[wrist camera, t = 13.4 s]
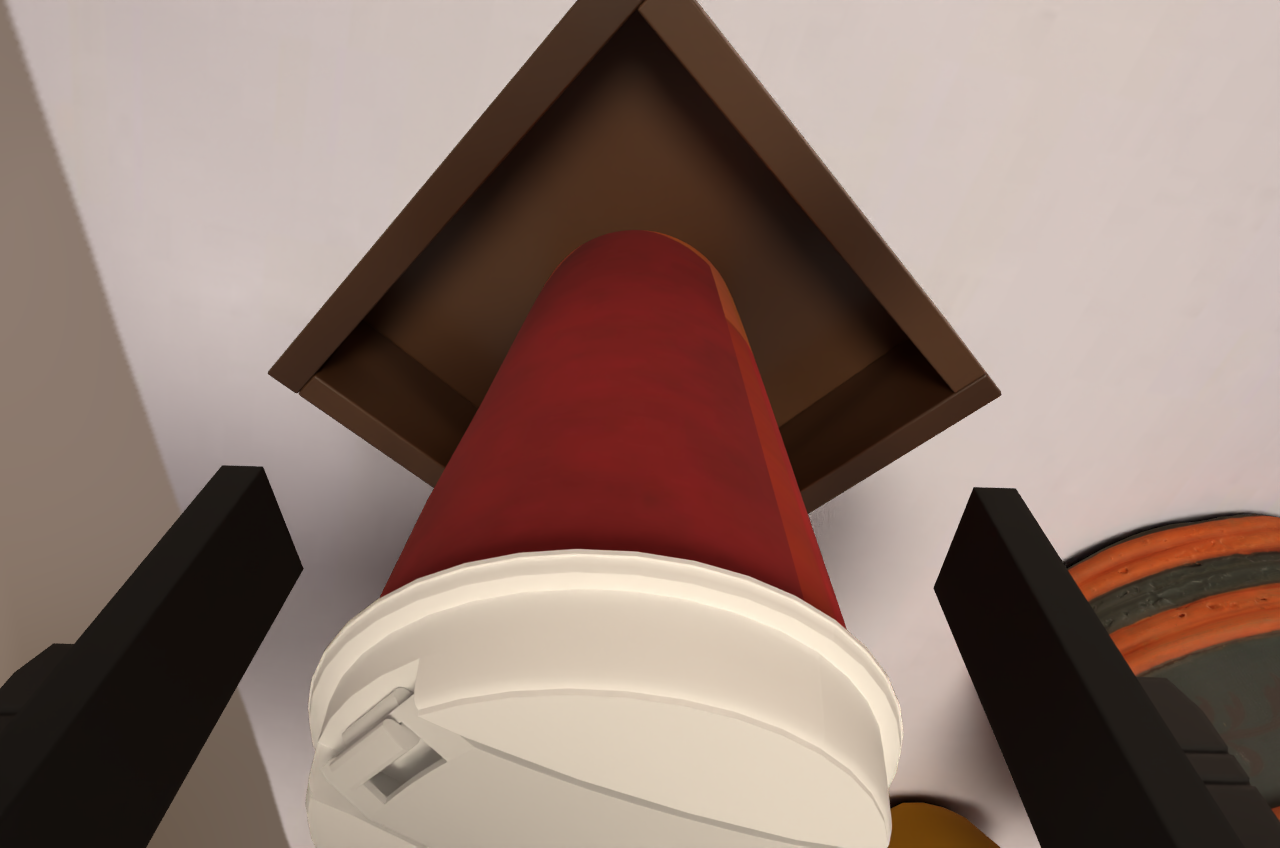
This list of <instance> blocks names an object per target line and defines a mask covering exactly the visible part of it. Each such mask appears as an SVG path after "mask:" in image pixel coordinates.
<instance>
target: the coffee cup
mask: <svg viewBox="0 0 1280 848" xmlns="http://www.w3.org/2000/svg"><path fill="white" fill-rule="evenodd" d="M308 711H309V724H310V730H311V737H312V743H313V747H314V749H315V756H314V759H313V763H312V767H311V771H310V775H309V782H308V788H307V795H306V810H307V818H308V824H309V829H310V835H311V839H312V841H313V843H314V845H315V846H316V848H887V847H888V846H889V842H890V837H891V831H892V819H891V810H890V801H889V792H888V789H889V787H890V785H891V783H892V780H893V778H894V776H895V774H896V770H897V764H898V761H899V757H900V752H901V746H902V740H903V735H904V734H903V726H902V717H901V709H900V705H899V702H898V699H897V697H896V695H895V692H894V690H893V688H892V685H891V683H890V680H889V678H888V676H887V674H886V672H885V671H884V670H883V669H882V667H881V666H880V665H879V663H878V662H877V661H876V659H875V658H874V657H873V655H872V654H871V653H870V651H869V650H868V649H867V647H866V646H865V645H863V644H862V643H861V642H860V641H859V640H858V639H857V638H855V637H854V636H853V635H852V634H851V633H850V632H849V631H847V629H846V626H845V623H844V620H843V617H842V614H841V611H840V608H839V605H838V602H837V599H836V596H835V593H834V590H833V587H832V584H831V581H830V578H829V576H828V573H827V570H826V567H825V564H824V561H823V558H822V555H821V552H820V549H819V546H818V543H817V540H816V537H815V534H814V531H813V528H812V525H811V522H810V519H809V517H808V514H807V511H806V508H805V505H804V502H803V499H802V496H801V493H800V490H799V487H798V484H797V481H796V478H795V475H794V472H793V469H792V466H791V463H790V460H789V457H788V454H787V451H786V448H785V446H784V443H783V440H782V437H781V434H780V431H779V428H778V425H777V422H776V419H775V416H774V413H773V410H772V407H771V404H770V402H769V399H768V396H767V393H766V390H765V387H764V384H763V381H762V378H761V375H760V372H759V370H758V367H757V364H756V361H755V358H754V355H753V352H752V350H751V347H750V344H749V341H748V338H747V335H746V333H745V330H744V327H743V324H742V322H741V319H740V316H739V314H738V311H737V308H736V306H735V303H734V301H733V298H732V296H731V294H730V292H729V290H728V288H727V286H726V283H725V282H724V280H723V278H722V277H721V275H720V274H719V272H718V271H717V270H716V268H715V267H714V266H713V265H712V263H711V262H710V261H709V260H708V259H707V258H706V257H705V256H704V255H702V254H701V253H700V252H699V251H697V250H696V249H695V248H693V247H692V246H690V245H689V244H687V243H685V242H683V241H681V240H679V239H677V238H674V237H672V236H669V235H666V234H662V233H658V232H653V231H645V230H625V231H618V232H613V233H608V234H605V235H602V236H599V237H597V238H594V239H592V240H590V241H588V242H586V243H584V244H583V245H581V246H579V247H578V248H577V249H575V250H574V251H573V252H571V253H570V254H569V255H568V256H567V257H566V258H565V259H564V260H563V261H562V262H561V263H560V264H559V265H558V266H557V268H556V269H555V270H554V272H553V273H552V275H551V276H550V277H549V279H548V280H547V282H546V283H545V285H544V287H543V289H542V290H541V292H540V294H539V296H538V297H537V299H536V301H535V303H534V304H533V306H532V308H531V310H530V312H529V314H528V315H527V317H526V319H525V321H524V323H523V325H522V327H521V329H520V330H519V332H518V334H517V336H516V338H515V340H514V342H513V344H512V346H511V347H510V349H509V351H508V353H507V355H506V357H505V359H504V361H503V363H502V365H501V367H500V369H499V370H498V372H497V374H496V376H495V378H494V380H493V382H492V384H491V386H490V388H489V390H488V392H487V394H486V395H485V397H484V399H483V401H482V403H481V405H480V407H479V409H478V410H477V412H476V414H475V416H474V417H473V419H472V421H471V423H470V425H469V426H468V428H467V430H466V432H465V434H464V435H463V437H462V439H461V441H460V443H459V444H458V446H457V448H456V450H455V452H454V453H453V455H452V457H451V459H450V461H449V462H448V464H447V466H446V468H445V469H444V471H443V473H442V475H441V477H440V478H439V480H438V482H437V484H436V486H435V487H434V489H433V491H432V493H431V495H430V496H429V498H428V500H427V502H426V504H425V506H424V508H423V510H422V512H421V514H420V516H419V518H418V520H417V522H416V524H415V526H414V528H413V530H412V532H411V534H410V536H409V538H408V540H407V542H406V544H405V547H404V549H403V551H402V553H401V555H400V557H399V559H398V561H397V563H396V565H395V567H394V569H393V571H392V573H391V575H390V577H389V579H388V581H387V583H386V585H385V587H384V589H383V591H382V593H381V595H380V598H379V599H377V600H376V601H375V602H373V603H372V604H371V605H370V606H368V607H367V608H366V609H364V610H363V611H362V612H360V613H359V614H358V615H357V616H355V617H354V618H353V619H351V620H350V621H349V622H347V624H346V625H345V626H344V627H343V628H342V630H341V631H340V632H339V633H338V634H337V636H336V637H335V638H334V639H333V640H332V642H331V643H330V644H329V645H328V646H327V648H326V649H325V651H324V653H323V656H322V658H321V660H320V662H319V664H318V667H317V669H316V671H315V673H314V675H313V677H312V680H311V687H310V694H309V701H308Z"/></svg>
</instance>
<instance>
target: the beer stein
mask: <svg viewBox="0 0 1280 848" xmlns="http://www.w3.org/2000/svg"><path fill="white" fill-rule="evenodd" d="M1067 570H1068V571H1069V573H1070V574H1071V576H1072V577H1073V579H1074V581H1075V582H1076V584H1077V585H1078V587H1079V588H1080V590H1081V592H1082V593H1083V595H1084V596H1085V598H1086V599H1087V601H1088V602H1089V604H1090V606H1091V607H1092V609H1093V610H1094V612H1095V613H1096V615H1097V617H1098V618H1099V620H1100V621H1101V623H1102V624H1103V626H1104V628H1105V629H1106V631H1107V632H1108V634H1109V635H1110V637H1111V639H1112V640H1113V642H1114V643H1115V645H1116V646H1117V648H1118V649H1119V651H1120V653H1121V654H1122V656H1123V657H1124V659H1125V660H1126V662H1127V664H1128V665H1129V667H1130V668H1131V670H1132V671H1133V673H1134V675H1135V676H1136V677H1159V678H1167V679H1168V680H1169V681H1170V682H1171V683H1173V684H1174V685H1175V686H1176V687H1177V688H1178V689H1179V690H1180V691H1182V692H1183V693H1184V694H1185V695H1186V696H1187V697H1188V698H1189V699H1190V700H1192V701H1193V702H1194V703H1195V704H1196V705H1197V706H1198V707H1199V708H1201V709H1202V710H1203V712H1204V713H1205V715H1206V716H1207V717H1208V719H1209V720H1210V722H1211V723H1212V725H1213V726H1214V728H1215V729H1216V730H1217V732H1218V733H1219V735H1220V736H1221V738H1222V739H1223V740H1224V742H1225V743H1226V745H1227V746H1228V752H1229V754H1230V755H1234V756H1235V758H1236V759H1237V761H1238V762H1239V763H1240V765H1241V766H1242V768H1243V769H1244V771H1245V772H1246V773H1247V775H1248V776H1249V778H1250V779H1249V782H1250V784H1251V785H1252V786H1256V788H1257V789H1258V791H1259V792H1260V794H1261V795H1262V796H1263V798H1264V799H1265V801H1266V802H1267V804H1268V805H1269V806H1270V808H1271V809H1272V811H1273V812H1274V814H1275V815H1276V817H1277V818H1278V819H1279V821H1280V518H1279V517H1272V516H1264V515H1257V514H1251V515H1243V514H1238V515H1235V516H1228V517H1218V518H1215V519H1211V520H1204V521H1199V522H1191V523H1178V524H1170V525H1167V526H1163V527H1159V528H1154V529H1151V530H1148V531H1144V532H1141V533H1139V534H1136V535H1132V536H1130V537H1128V538H1126V539H1123V540H1121V541H1119V542H1116V543H1114V544H1112V545H1110V546H1107V547H1105V548H1104V549H1102V550H1100V551H1098V552H1096V553H1094V554H1092V555H1090V556H1089V557H1087V558H1086V559H1084V560H1082V561H1080V562H1078V563H1076V564H1074V565H1073V566H1071V567H1069V568H1067Z"/></svg>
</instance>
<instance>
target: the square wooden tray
mask: <svg viewBox="0 0 1280 848" xmlns="http://www.w3.org/2000/svg"><path fill="white" fill-rule="evenodd" d="M625 230H645V231H653V232H658V233H662V234H666V235H669V236H672V237H674V238H677V239H679V240H681V241H683V242H685V243H687V244H689V245H690V246H692V247H693V248H695V249H696V250H697V251H699V252H700V253H701V254H702V255H704V256H705V257H706V258H707V259H708V260H709V261H710V262H711V263H712V265H713V266H714V267H715V268H716V270H717V271H718V272H719V274H720V275H721V277H722V278H723V280H724V282H725V283H726V286H727V288H728V290H729V292H730V294H731V296H732V298H733V301H734V303H735V306H736V308H737V311H738V314H739V316H740V319H741V322H742V324H743V327H744V330H745V333H746V335H747V338H748V341H749V344H750V347H751V350H752V352H753V355H754V358H755V361H756V364H757V367H758V370H759V372H760V375H761V378H762V381H763V384H764V387H765V390H766V393H767V396H768V399H769V402H770V404H771V407H772V410H773V413H774V416H775V419H776V422H777V425H778V428H779V431H780V434H781V437H782V440H783V443H784V446H785V448H786V451H787V454H788V457H789V460H790V463H791V466H792V469H793V472H794V475H795V478H796V481H797V484H798V487H799V490H800V493H801V496H802V499H803V502H804V505H805V508H806V511H807V514H808V513H810V512H812V511H813V510H815V509H817V508H818V507H820V506H822V505H823V504H825V503H826V502H828V501H830V500H831V499H833V498H835V497H836V496H838V495H839V494H841V493H843V492H844V491H846V490H848V489H849V488H851V487H853V486H854V485H856V484H857V483H859V482H861V481H862V480H864V479H866V478H867V477H869V476H871V475H872V474H874V473H875V472H877V471H879V470H880V469H882V468H884V467H885V466H887V465H888V464H890V463H892V462H893V461H895V460H897V459H898V458H900V457H902V456H903V455H905V454H906V453H908V452H910V451H911V450H913V449H915V448H916V447H918V446H919V445H921V444H923V443H924V442H926V441H928V440H929V439H931V438H933V437H934V436H936V435H937V434H939V433H941V432H942V431H944V430H946V429H947V428H949V427H950V426H952V425H954V424H955V423H957V422H959V421H960V420H962V419H964V418H965V417H967V416H968V415H970V414H972V413H973V412H975V411H977V410H978V409H980V408H981V407H983V406H985V405H986V404H988V403H990V402H991V401H993V400H995V399H996V398H998V397H999V396H1000V395H1001V391H1000V390H999V388H998V387H997V386H996V384H995V383H994V382H993V381H992V379H991V378H990V377H989V375H988V374H987V373H986V371H985V370H984V369H983V367H982V366H981V365H980V363H979V362H978V361H977V359H976V358H975V357H974V355H973V354H972V353H971V351H970V350H969V349H968V348H967V346H966V345H965V344H964V342H963V341H962V340H961V338H960V337H959V336H958V334H957V333H956V332H955V330H954V329H953V328H952V326H951V325H950V324H949V322H948V321H947V320H946V319H945V317H944V316H943V315H942V314H941V312H940V311H939V310H938V308H937V307H936V306H935V305H934V303H933V302H932V301H931V299H930V298H929V297H928V296H927V294H926V293H925V292H924V291H923V289H922V288H921V287H920V285H919V284H918V283H917V282H916V280H915V279H914V278H913V277H912V275H911V274H910V273H909V271H908V270H907V269H906V268H905V266H904V265H903V264H902V262H901V261H900V260H899V259H898V257H897V256H896V255H895V254H894V252H893V251H892V250H891V248H890V247H889V246H888V245H887V243H886V242H885V241H884V239H883V238H882V237H881V236H880V234H879V233H878V232H877V231H876V229H875V228H874V227H873V225H872V224H871V223H870V222H869V220H868V219H867V218H866V216H865V215H864V214H863V213H862V211H861V210H860V209H859V208H858V206H857V205H856V204H855V202H854V201H853V200H852V199H851V197H850V196H849V195H848V193H847V192H846V191H845V190H844V188H843V187H842V186H841V185H840V183H839V182H838V181H837V179H836V178H835V177H834V176H833V174H832V173H831V172H830V170H829V169H828V168H827V167H826V165H825V164H824V163H823V162H822V160H821V159H820V158H819V156H818V155H817V154H816V153H815V151H814V150H813V149H812V148H811V146H810V145H809V144H808V142H807V141H806V140H805V139H804V137H803V136H802V135H801V133H800V132H799V131H798V130H797V128H796V127H795V126H794V125H793V123H792V122H791V121H790V119H789V118H788V117H787V116H786V114H785V113H784V112H783V110H782V109H781V108H780V107H779V105H778V104H777V103H776V102H775V100H774V99H773V98H772V96H771V95H770V94H769V93H768V91H767V90H766V89H765V87H764V86H763V85H762V84H761V82H760V81H759V80H758V79H757V77H756V76H755V75H754V73H753V72H752V71H751V70H750V68H749V67H748V66H747V64H746V63H745V62H744V61H743V59H742V58H741V57H740V56H739V54H738V53H737V52H736V50H735V49H734V48H733V47H732V45H731V44H730V43H729V41H728V40H727V39H726V38H725V36H724V35H723V34H722V33H721V31H720V30H719V29H718V27H717V26H716V25H715V24H714V22H713V21H712V20H711V19H710V17H709V16H708V15H707V13H706V12H705V11H704V10H703V8H702V7H701V6H700V4H699V3H698V2H697V1H696V0H577V1H576V2H575V4H574V5H573V6H572V7H571V8H570V10H569V11H568V12H567V13H566V14H565V16H564V17H563V18H562V19H561V20H560V22H559V23H558V24H557V25H556V26H555V28H554V29H553V30H552V31H551V32H550V34H549V35H548V36H547V37H546V38H545V40H544V41H543V42H542V43H541V44H540V46H539V47H538V48H537V49H536V51H535V52H534V53H533V54H532V55H531V57H530V58H529V59H528V60H527V61H526V63H525V64H524V65H523V66H522V67H521V69H520V70H519V71H518V72H517V73H516V75H515V76H514V77H513V78H512V79H511V81H510V82H509V83H508V84H507V85H506V87H505V88H504V89H503V90H502V91H501V93H500V94H499V95H498V96H497V97H496V99H495V100H494V101H493V102H492V103H491V105H490V106H489V107H488V108H487V109H486V111H485V112H484V113H483V114H482V115H481V117H480V118H479V119H478V120H477V121H476V123H475V124H474V125H473V126H472V127H471V129H470V130H469V131H468V132H467V133H466V135H465V136H464V137H463V138H462V139H461V141H460V142H459V143H458V144H457V145H456V147H455V148H454V149H453V150H452V151H451V153H450V154H449V155H448V156H447V157H446V159H445V160H444V161H443V162H442V163H441V165H440V166H439V167H438V168H437V169H436V171H435V172H434V173H433V174H432V175H431V177H430V178H429V179H428V180H427V181H426V183H425V184H424V185H423V186H422V187H421V189H420V190H419V191H418V192H417V193H416V195H415V196H414V197H413V198H412V199H411V201H410V202H409V203H408V204H407V205H406V207H405V208H404V209H403V210H402V211H401V213H400V214H399V215H398V216H397V217H396V219H395V220H394V221H393V222H392V223H391V225H390V226H389V227H388V228H387V229H386V231H385V232H384V233H383V234H382V235H381V237H380V238H379V239H378V240H377V241H376V243H375V244H374V245H373V246H372V248H371V249H370V250H369V251H368V252H367V254H366V255H365V256H364V257H363V258H362V260H361V261H360V262H359V263H358V264H357V266H356V267H355V268H354V269H353V270H352V272H351V273H350V274H349V275H348V276H347V278H346V279H345V280H344V281H343V282H342V284H341V285H340V286H339V287H338V288H337V290H336V291H335V292H334V293H333V294H332V296H331V297H330V298H329V299H328V300H327V302H326V303H325V304H324V305H323V306H322V308H321V309H320V310H319V311H318V312H317V314H316V315H315V316H314V317H313V318H312V320H311V321H310V322H309V323H308V324H307V326H306V327H305V328H304V329H303V330H302V332H301V333H300V334H299V335H298V336H297V338H296V339H295V340H294V341H293V342H292V344H291V345H290V346H289V347H288V348H287V350H286V351H285V352H284V353H283V354H282V356H281V357H280V358H279V359H278V360H277V362H276V363H275V364H274V365H273V366H272V368H271V369H270V370H269V371H268V374H269V375H270V376H272V377H273V378H274V379H276V380H277V381H279V382H280V383H282V384H283V385H285V386H286V387H287V388H289V389H290V390H292V391H293V392H295V393H298V392H299V395H300V396H301V397H303V398H304V399H306V400H307V401H309V402H310V403H312V404H313V405H314V406H316V407H317V408H319V409H320V410H322V411H323V412H325V413H326V414H327V415H329V416H330V417H332V418H333V419H335V420H336V421H338V422H339V423H340V424H342V425H343V426H345V427H346V428H348V429H349V430H351V431H352V432H353V433H355V434H356V435H358V436H359V437H361V438H362V439H364V440H365V441H367V442H368V443H369V444H371V445H372V446H374V447H375V448H377V449H378V450H380V451H381V452H382V453H384V454H385V455H387V456H388V457H390V458H391V459H393V460H394V461H395V462H397V463H398V464H400V465H401V466H403V467H404V468H406V469H407V470H408V471H410V472H411V473H413V474H414V475H416V476H417V477H419V478H420V479H421V480H423V481H424V482H426V483H427V484H429V485H430V486H432V487H433V488H434V487H435V486H436V484H437V482H438V480H439V478H440V477H441V475H442V473H443V471H444V469H445V468H446V466H447V464H448V462H449V461H450V459H451V457H452V455H453V453H454V452H455V450H456V448H457V446H458V444H459V443H460V441H461V439H462V437H463V435H464V434H465V432H466V430H467V428H468V426H469V425H470V423H471V421H472V419H473V417H474V416H475V414H476V412H477V410H478V409H479V407H480V405H481V403H482V401H483V399H484V397H485V395H486V394H487V392H488V390H489V388H490V386H491V384H492V382H493V380H494V378H495V376H496V374H497V372H498V370H499V369H500V367H501V365H502V363H503V361H504V359H505V357H506V355H507V353H508V351H509V349H510V347H511V346H512V344H513V342H514V340H515V338H516V336H517V334H518V332H519V330H520V329H521V327H522V325H523V323H524V321H525V319H526V317H527V315H528V314H529V312H530V310H531V308H532V306H533V304H534V303H535V301H536V299H537V297H538V296H539V294H540V292H541V290H542V289H543V287H544V285H545V283H546V282H547V280H548V279H549V277H550V276H551V275H552V273H553V272H554V270H555V269H556V268H557V266H558V265H559V264H560V263H561V262H562V261H563V260H564V259H565V258H566V257H567V256H568V255H569V254H570V253H571V252H573V251H574V250H575V249H577V248H578V247H579V246H581V245H583V244H584V243H586V242H588V241H590V240H592V239H594V238H597V237H599V236H602V235H605V234H608V233H613V232H618V231H625Z"/></svg>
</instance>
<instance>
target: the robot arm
mask: <svg viewBox="0 0 1280 848" xmlns="http://www.w3.org/2000/svg"><path fill="white" fill-rule="evenodd" d="M302 571H303V566H302V564H301V561H300V559H299V556H298V554H297V551H296V548H295V546H294V543H293V541H292V538H291V536H290V533H289V531H288V528H287V526H286V523H285V521H284V518H283V516H282V513H281V511H280V508H279V506H278V503H277V501H276V498H275V496H274V493H273V491H272V488H271V485H270V483H269V480H268V478H267V475H266V473H265V470H264V468H263V467H257V466H223V465H222V466H221V467H220V469H219V470H218V471H217V472H216V473H215V475H214V476H213V477H212V478H211V480H210V481H209V482H208V483H207V484H206V486H205V487H204V488H203V489H202V490H201V492H200V493H199V494H198V495H197V496H196V498H195V499H194V500H193V501H192V502H191V504H190V505H189V506H188V507H187V508H186V510H185V511H184V512H183V513H182V515H181V516H180V517H179V518H178V520H177V521H176V522H175V523H174V524H173V525H172V527H171V528H170V529H169V530H168V532H167V533H166V534H165V535H164V536H163V537H162V539H161V540H160V541H159V542H158V544H157V545H156V546H155V547H154V548H153V550H152V551H151V552H150V553H149V554H148V556H147V557H146V558H145V559H144V560H143V562H142V563H141V564H140V565H139V566H138V568H137V569H136V570H135V571H134V573H133V574H132V575H131V576H130V577H129V579H128V580H127V581H126V582H125V583H124V585H123V586H122V587H121V588H120V589H119V591H118V592H117V593H116V594H115V596H114V597H113V598H112V599H111V600H110V601H109V603H108V604H107V605H106V606H105V608H104V609H103V610H102V611H101V612H100V614H99V615H98V616H97V617H96V618H95V620H94V621H93V622H92V623H91V624H90V626H89V627H88V628H87V629H86V630H85V632H84V633H83V634H82V635H81V637H80V638H79V639H78V640H77V641H76V643H75V644H52V645H51V646H50V647H48V648H47V649H45V650H44V651H43V652H42V653H40V654H39V655H37V656H36V657H35V658H33V659H32V660H31V661H29V662H28V663H27V664H25V665H24V666H23V667H21V668H20V669H19V670H17V671H16V672H15V673H14V674H13V675H12V676H11V677H10V678H9V679H8V680H7V681H6V683H5V684H4V685H3V686H2V687H1V688H0V848H146V847H147V845H148V843H149V841H150V840H151V838H152V836H153V834H154V833H155V831H156V829H157V827H158V825H159V824H160V822H161V820H162V818H163V817H164V815H165V813H166V811H167V810H168V808H169V806H170V804H171V803H172V801H173V799H174V797H175V795H176V794H177V792H178V790H179V788H180V787H181V785H182V783H183V781H184V779H185V778H186V776H187V774H188V772H189V770H190V769H191V767H192V765H193V764H194V762H195V760H196V758H197V756H198V755H199V753H200V751H201V749H202V747H203V746H204V744H205V742H206V741H207V739H208V737H209V735H210V733H211V732H212V730H213V728H214V726H215V725H216V723H217V721H218V719H219V718H220V716H221V714H222V712H223V710H224V709H225V707H226V705H227V703H228V702H229V700H230V698H231V696H232V694H233V693H234V691H235V689H236V687H237V686H238V684H239V682H240V680H241V679H242V677H243V675H244V673H245V671H246V670H247V668H248V666H249V664H250V663H251V661H252V659H253V657H254V656H255V654H256V652H257V650H258V648H259V647H260V645H261V643H262V641H263V640H264V638H265V636H266V634H267V633H268V631H269V629H270V627H271V625H272V624H273V622H274V620H275V618H276V617H277V615H278V613H279V611H280V610H281V608H282V606H283V604H284V602H285V601H286V599H287V597H288V595H289V594H290V592H291V590H292V588H293V587H294V585H295V583H296V581H297V579H298V578H299V576H300V574H301V572H302ZM934 591H935V593H936V595H937V598H938V600H939V603H940V605H941V607H942V610H943V612H944V615H945V617H946V619H947V622H948V624H949V627H950V629H951V632H952V634H953V636H954V639H955V641H956V644H957V646H958V648H959V651H960V653H961V656H962V658H963V660H964V663H965V665H966V668H967V670H968V672H969V675H970V677H971V680H972V682H973V684H974V687H975V689H976V692H977V694H978V697H979V699H980V701H981V704H982V706H983V709H984V711H985V713H986V716H987V718H988V721H989V723H990V725H991V728H992V730H993V733H994V735H995V737H996V740H997V742H998V745H999V747H1000V749H1001V752H1002V754H1003V757H1004V759H1005V762H1006V764H1007V766H1008V769H1009V771H1010V774H1011V776H1012V778H1013V781H1014V783H1015V786H1016V788H1017V790H1018V793H1019V795H1020V798H1021V800H1022V802H1023V805H1024V807H1025V810H1026V812H1027V814H1028V817H1029V819H1030V822H1031V824H1032V827H1033V829H1034V831H1035V834H1036V836H1037V839H1038V841H1039V843H1040V846H1041V848H1280V821H1279V819H1278V818H1277V817H1276V815H1275V814H1274V812H1273V811H1272V809H1271V808H1270V806H1269V805H1268V804H1267V802H1266V801H1265V799H1264V798H1263V796H1262V795H1261V794H1260V792H1259V791H1258V789H1257V788H1256V786H1252V785H1251V784H1250V782H1249V779H1250V778H1249V776H1248V775H1247V773H1246V772H1245V771H1244V769H1243V768H1242V766H1241V765H1240V763H1239V762H1238V761H1237V759H1236V758H1235V756H1234V755H1230V754H1229V752H1228V746H1227V745H1226V743H1225V742H1224V740H1223V739H1222V738H1221V736H1220V735H1219V733H1218V732H1217V730H1216V729H1215V728H1214V726H1213V725H1212V723H1211V722H1210V720H1209V719H1208V717H1207V716H1206V715H1205V713H1204V712H1203V710H1202V709H1201V708H1199V707H1198V706H1197V705H1196V704H1195V703H1194V702H1193V701H1192V700H1190V699H1189V698H1188V697H1187V696H1186V695H1185V694H1184V693H1183V692H1182V691H1180V690H1179V689H1178V688H1177V687H1176V686H1175V685H1174V684H1173V683H1171V682H1170V681H1169V680H1168V679H1167V678H1159V677H1136V676H1135V675H1134V673H1133V671H1132V670H1131V668H1130V667H1129V665H1128V664H1127V662H1126V660H1125V659H1124V657H1123V656H1122V654H1121V653H1120V651H1119V649H1118V648H1117V646H1116V645H1115V643H1114V642H1113V640H1112V639H1111V637H1110V635H1109V634H1108V632H1107V631H1106V629H1105V628H1104V626H1103V624H1102V623H1101V621H1100V620H1099V618H1098V617H1097V615H1096V613H1095V612H1094V610H1093V609H1092V607H1091V606H1090V604H1089V602H1088V601H1087V599H1086V598H1085V596H1084V595H1083V593H1082V592H1081V590H1080V588H1079V587H1078V585H1077V584H1076V582H1075V581H1074V579H1073V577H1072V576H1071V574H1070V573H1069V571H1068V570H1067V568H1066V566H1065V565H1064V563H1063V562H1062V560H1061V559H1060V557H1059V556H1058V554H1057V552H1056V551H1055V549H1054V548H1053V546H1052V545H1051V543H1050V541H1049V540H1048V538H1047V537H1046V535H1045V534H1044V532H1043V530H1042V529H1041V527H1040V526H1039V524H1038V523H1037V521H1036V519H1035V518H1034V516H1033V515H1032V513H1031V512H1030V510H1029V509H1028V507H1027V505H1026V504H1025V502H1024V501H1023V499H1022V498H1021V496H1020V494H1019V493H1018V491H1017V490H1016V489H1014V488H980V487H974V488H973V490H972V493H971V495H970V498H969V500H968V503H967V505H966V508H965V510H964V513H963V515H962V518H961V520H960V523H959V525H958V528H957V531H956V533H955V536H954V538H953V541H952V543H951V546H950V548H949V551H948V553H947V556H946V558H945V561H944V563H943V566H942V568H941V571H940V573H939V576H938V578H937V581H936V583H935V586H934Z"/></svg>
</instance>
